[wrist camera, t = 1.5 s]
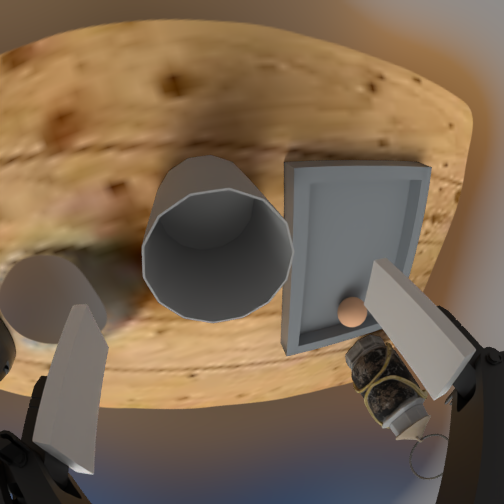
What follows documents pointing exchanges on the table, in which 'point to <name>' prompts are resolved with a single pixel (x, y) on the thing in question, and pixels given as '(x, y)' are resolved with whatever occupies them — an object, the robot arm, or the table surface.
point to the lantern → (389, 390)
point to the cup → (214, 243)
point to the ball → (352, 312)
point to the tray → (345, 240)
